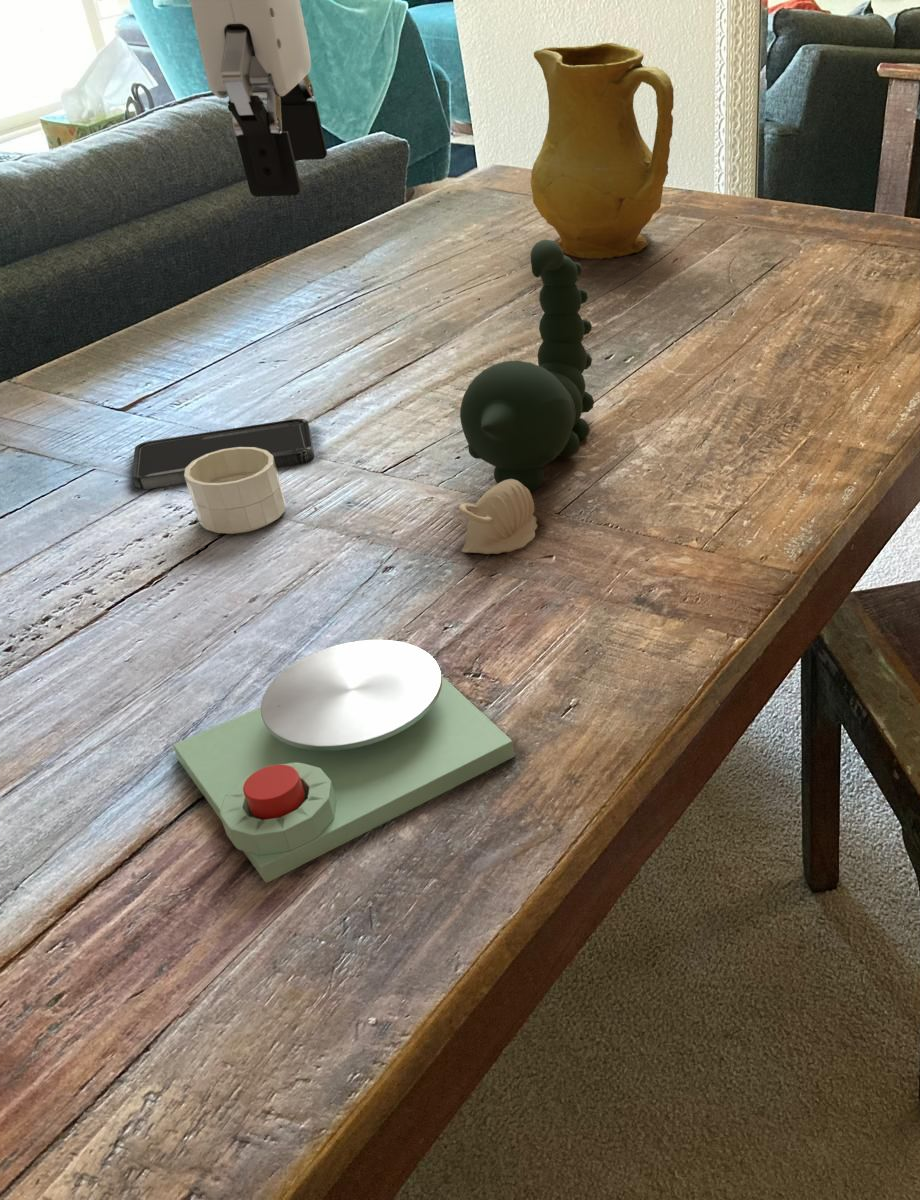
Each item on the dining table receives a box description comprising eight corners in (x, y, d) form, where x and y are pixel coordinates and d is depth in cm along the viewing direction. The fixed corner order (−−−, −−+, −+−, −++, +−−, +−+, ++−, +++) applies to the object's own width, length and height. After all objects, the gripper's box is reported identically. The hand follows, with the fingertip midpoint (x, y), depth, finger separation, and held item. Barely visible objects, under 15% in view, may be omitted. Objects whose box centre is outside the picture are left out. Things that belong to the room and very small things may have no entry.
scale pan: (306, 776, 70) (304, 771, 70) (234, 690, 77) (233, 685, 77) (473, 698, 76) (472, 693, 76) (394, 624, 83) (392, 620, 83)
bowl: (219, 547, 97) (202, 493, 94) (189, 516, 101) (172, 463, 99) (300, 519, 101) (286, 466, 98) (268, 490, 105) (254, 439, 102)
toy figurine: (531, 417, 122) (441, 519, 100) (512, 226, 113) (408, 292, 91) (622, 422, 121) (551, 526, 99) (610, 229, 112) (529, 297, 90)
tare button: (262, 828, 67) (255, 807, 66) (241, 800, 69) (234, 780, 68) (313, 803, 69) (307, 782, 68) (292, 776, 71) (286, 756, 70)
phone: (312, 451, 109) (130, 479, 104) (315, 462, 110) (134, 491, 105) (307, 416, 115) (135, 442, 110) (309, 427, 116) (139, 453, 111)
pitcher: (616, 215, 174) (601, 28, 159) (696, 252, 163) (689, 55, 148) (513, 243, 164) (487, 47, 149) (591, 284, 154) (572, 78, 138)
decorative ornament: (553, 527, 100) (545, 470, 97) (484, 574, 94) (474, 514, 91) (515, 515, 102) (507, 459, 99) (446, 560, 96) (435, 501, 93)
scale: (258, 889, 67) (244, 850, 65) (171, 764, 75) (157, 727, 74) (515, 757, 76) (509, 721, 74) (411, 660, 85) (404, 625, 83)
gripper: (201, -112, 82) (264, 148, 92) (119, -92, 68) (203, 213, 77) (315, -113, 83) (365, 145, 92) (257, -94, 69) (324, 208, 78)
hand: (291, 175), depth 85 cm, fingers open, 9 cm apart
